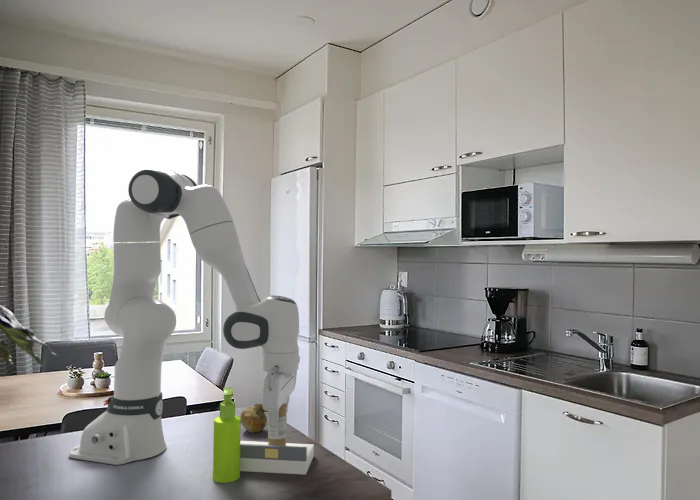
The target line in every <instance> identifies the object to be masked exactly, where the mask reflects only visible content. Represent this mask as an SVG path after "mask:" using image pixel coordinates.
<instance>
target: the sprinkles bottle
mask: <svg viewBox="0 0 700 500" xmlns="http://www.w3.org/2000/svg"><path fill="white" fill-rule="evenodd" d="M286 404H287V395H286V396H285V401H284V403H283V404H282V406H281V407H280V408H279V424H278V425H277V426H272V425H271V418H270V414H269V413H268V415H267V417H268V418H267V422H268V425H267V429H268V430H267V431H268V432H267V442H268V445H276V446H286V443H287V420H288V418H287V413H286Z"/></svg>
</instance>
